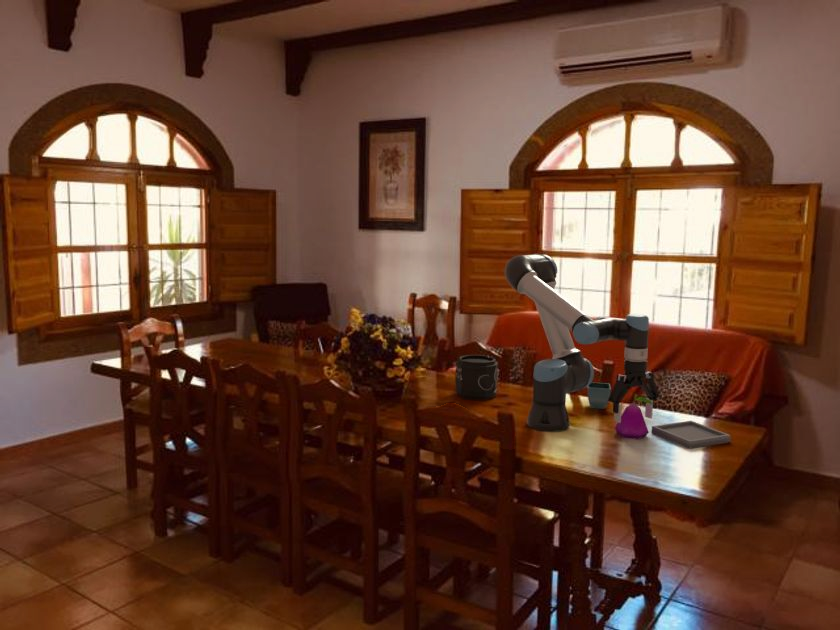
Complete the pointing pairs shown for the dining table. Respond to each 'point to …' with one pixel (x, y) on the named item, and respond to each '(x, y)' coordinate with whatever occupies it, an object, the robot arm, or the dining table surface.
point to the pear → (633, 421)
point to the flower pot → (598, 395)
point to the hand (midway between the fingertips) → (633, 419)
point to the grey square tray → (691, 434)
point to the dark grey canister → (476, 377)
